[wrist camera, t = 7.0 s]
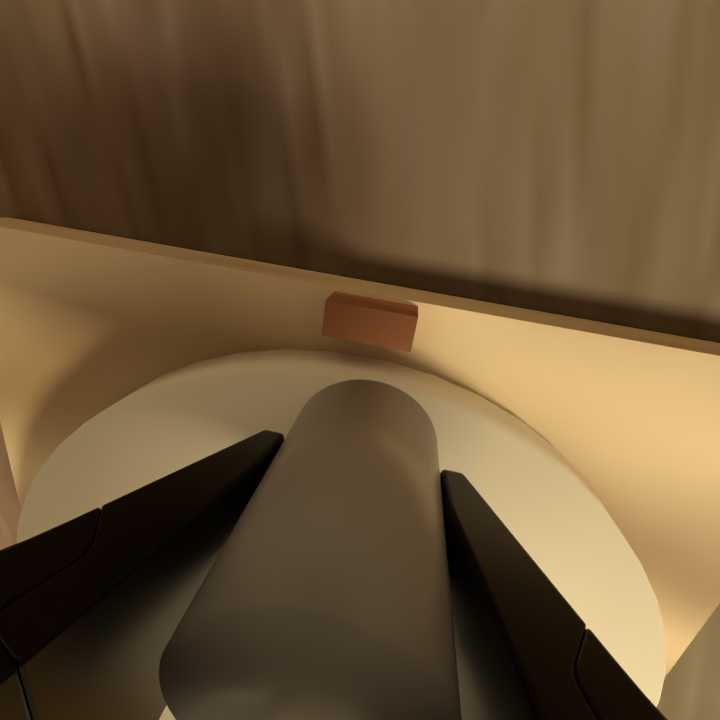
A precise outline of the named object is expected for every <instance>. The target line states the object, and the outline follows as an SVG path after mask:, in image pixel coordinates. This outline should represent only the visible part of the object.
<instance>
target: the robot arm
mask: <svg viewBox="0 0 720 720" xmlns="http://www.w3.org/2000/svg"><path fill="white" fill-rule="evenodd" d="M284 440H285V439H284V435H283V434H282V433H278V432H274V431H269V430H263V431H261V432H259V433H257V434H255V435H252V436H250V437H248V438H246V439H244V440H242V441H240V442H237V443H235V444H233V445H231V446H229V447H227V448H225V449H222V450H220V451H218V452H216V453H214V454H212V455H209V456H207V457H205V458H203V459H201V460H199V461H197V462H194V463H192V464H190V465H188V466H186V467H184V468H182V469H179V470H177V471H175V472H173V473H171V474H169V475H167V476H164V477H162V478H160V479H158V480H156V481H154V482H152V483H149V484H147V485H145V486H143V487H141V488H139V489H137V490H134V491H132V492H130V493H128V494H126V495H124V496H122V497H119V498H117V499H115V500H113V501H111V502H109V503H107V504H104V505H103V506H102V508H101V509H100V508H96V509H93V510H91V511H89V512H87V513H85V514H83V515H80V516H78V517H76V518H74V519H72V520H70V521H67V522H65V523H63V524H61V525H58V526H56V527H54V528H52V529H49V530H47V531H45V532H43V533H40V534H38V535H36V536H34V537H31V538H29V539H27V540H24V541H22V542H19V543H17V544H14V545H12V546H10V547H7V548H5V549H2V550H0V720H159V719H160V717H161V715H162V713H163V711H164V709H165V707H166V706H167V704H166V702H165V700H164V698H163V695H162V691H161V688H160V683H159V674H158V673H159V664H160V659H161V656H162V653H163V650H164V649H165V647H166V645H167V643H168V642H169V640H170V638H171V637H172V635H173V633H174V631H175V630H176V628H177V626H178V624H179V623H180V621H181V619H182V617H183V616H184V614H185V612H186V610H187V609H188V607H189V605H190V603H191V602H192V600H193V598H194V596H195V595H196V593H197V591H198V590H199V588H200V586H201V584H202V583H203V581H204V579H205V577H206V576H207V574H208V572H209V570H210V569H211V567H212V565H213V563H214V562H215V560H216V558H217V556H218V555H219V553H220V551H221V549H222V548H223V546H224V544H225V542H226V541H227V539H228V537H229V536H230V534H231V532H232V530H233V529H234V527H235V525H236V523H237V522H238V520H239V518H240V516H241V515H242V513H243V511H244V509H245V508H246V506H247V504H248V502H249V501H250V499H251V497H252V495H253V494H254V492H255V490H256V488H257V487H258V485H259V483H260V482H261V480H262V478H263V476H264V475H265V473H266V471H267V469H268V468H269V466H270V464H271V462H272V461H273V459H274V457H275V455H276V454H277V452H278V450H279V448H280V447H281V445H282V443H283V441H284ZM440 480H441V491H442V503H443V514H444V525H445V537H446V548H447V559H448V571H449V582H450V593H451V605H452V616H453V627H454V639H455V650H456V661H457V673H458V684H459V695H460V707H461V718H462V720H667V719H666V718H665V716H664V715H663V714H662V713H661V712H660V711H659V710H658V709H657V708H656V706H655V705H654V704H653V703H652V702H651V701H650V700H649V699H648V698H647V696H646V695H645V694H644V693H643V692H642V691H641V689H640V688H639V687H638V686H637V685H636V683H635V682H634V681H633V680H632V679H631V678H630V676H629V675H628V674H627V673H626V672H625V670H624V669H623V668H622V667H621V666H620V665H619V663H618V662H617V661H616V660H615V659H614V657H613V656H612V655H611V654H610V653H609V651H608V650H607V649H606V648H605V647H604V645H603V644H602V643H601V642H600V640H599V639H598V638H597V637H596V636H595V634H594V633H593V632H592V631H591V630H590V629H586V624H585V622H584V621H583V620H582V619H581V617H580V616H579V615H578V614H577V613H576V611H575V610H574V609H573V608H572V606H571V605H570V604H569V603H568V602H567V600H566V599H565V598H564V597H563V595H562V594H561V593H560V592H559V591H558V589H557V588H556V587H555V586H554V584H553V583H552V582H551V581H550V580H549V578H548V577H547V576H546V575H545V573H544V572H543V571H542V570H541V568H540V567H539V566H538V565H537V564H536V562H535V561H534V560H533V559H532V557H531V556H530V555H529V554H528V553H527V551H526V550H525V549H524V548H523V546H522V545H521V544H520V543H519V542H518V540H517V539H516V538H515V537H514V535H513V534H512V533H511V532H510V531H509V529H508V528H507V527H506V526H505V524H504V523H503V522H502V521H501V519H500V518H499V517H498V516H497V515H496V513H495V512H494V511H493V510H492V508H491V507H490V506H489V505H488V504H487V502H486V501H485V500H484V499H483V497H482V496H481V495H480V494H479V493H478V491H477V490H476V489H475V488H474V486H473V485H472V484H471V483H470V482H469V480H468V479H467V478H466V477H465V475H463V474H462V473H459V472H455V471H450V470H445V469H444V470H442V471H441V473H440Z"/></svg>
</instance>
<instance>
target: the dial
mask: <svg viewBox="0 0 720 720" xmlns="http://www.w3.org/2000/svg"><path fill="white" fill-rule="evenodd" d="M263 430H269V431H274V432H278V433H282V434H283V435H284V439H285V440H284V441H283V443H282V445H281V447H280V448H279V450H278V452H277V454H276V455H275V457H274V459H273V461H272V462H271V464H270V466H269V468H268V469H267V471H266V473H265V475H264V476H263V478H262V480H261V482H260V483H259V485H258V487H257V488H256V490H255V492H254V494H253V495H252V497H251V499H250V501H249V502H248V504H247V506H246V508H245V509H244V511H243V513H242V515H241V516H240V518H239V520H238V522H237V523H236V525H235V527H234V529H233V530H232V532H231V534H230V536H229V537H228V539H227V541H226V542H225V544H224V546H223V548H222V549H221V551H220V553H219V555H218V556H217V558H216V560H215V562H214V563H213V565H212V567H211V569H210V570H209V572H208V574H207V576H206V577H205V579H204V581H203V583H202V584H201V586H200V588H199V590H198V591H197V593H196V595H195V596H194V598H193V600H192V602H191V603H190V605H189V607H188V609H187V610H186V612H185V614H184V616H183V617H182V619H181V621H180V623H179V624H178V626H177V628H176V630H175V631H174V633H173V635H172V637H171V638H170V640H169V642H168V643H167V645H166V647H165V649H164V650H163V653H162V656H161V659H160V664H159V673H158V674H159V683H160V688H161V691H162V695H163V698H164V700H165V702H166V704H167V706H166V707H165V709H164V711H163V713H162V715H161V717H160V719H159V720H462V718H461V707H460V695H459V684H458V673H457V661H456V650H455V639H454V627H453V616H452V605H451V593H450V582H449V571H448V559H447V548H446V537H445V525H444V514H443V503H442V491H441V480H440V473H441V471H442V470H444V469H445V470H450V471H455V472H459V473H462V474H463V475H465V477H466V478H467V479H468V480H469V482H470V483H471V484H472V485H473V486H474V488H475V489H476V490H477V491H478V493H479V494H480V495H481V496H482V497H483V499H484V500H485V501H486V502H487V504H488V505H489V506H490V507H491V508H492V510H493V511H494V512H495V513H496V515H497V516H498V517H499V518H500V519H501V521H502V522H503V523H504V524H505V526H506V527H507V528H508V529H509V531H510V532H511V533H512V534H513V535H514V537H515V538H516V539H517V540H518V542H519V543H520V544H521V545H522V546H523V548H524V549H525V550H526V551H527V553H528V554H529V555H530V556H531V557H532V559H533V560H534V561H535V562H536V564H537V565H538V566H539V567H540V568H541V570H542V571H543V572H544V573H545V575H546V576H547V577H548V578H549V580H550V581H551V582H552V583H553V584H554V586H555V587H556V588H557V589H558V591H559V592H560V593H561V594H562V595H563V597H564V598H565V599H566V600H567V602H568V603H569V604H570V605H571V606H572V608H573V609H574V610H575V611H576V613H577V614H578V615H579V616H580V617H581V619H582V620H583V621H584V622H585V624H586V629H590V630H591V631H592V632H593V633H594V634H595V636H596V637H597V638H598V639H599V640H600V642H601V643H602V644H603V645H604V647H605V648H606V649H607V650H608V651H609V653H610V654H611V655H612V656H613V657H614V659H615V660H616V661H617V662H618V663H619V665H620V666H621V667H622V668H623V669H624V670H625V672H626V673H627V674H628V675H629V676H630V678H631V679H632V680H633V681H634V682H635V683H636V685H637V686H638V687H639V688H640V689H641V691H642V692H643V693H644V694H645V695H646V696H647V698H648V699H649V700H650V701H651V702H652V703H653V704H654V705H655V706H656V707H657V705H658V703H659V700H660V696H661V691H662V686H663V682H664V677H665V673H666V635H665V631H664V626H663V622H662V617H661V613H660V608H659V604H658V600H657V598H656V596H655V593H654V591H653V589H652V587H651V584H650V582H649V580H648V578H647V575H646V573H645V571H644V569H643V566H642V564H641V562H640V561H639V559H638V558H637V556H636V555H635V553H634V551H633V550H632V548H631V547H630V545H629V544H628V542H627V540H626V539H625V537H624V536H623V534H622V532H621V531H620V529H619V528H618V526H617V525H616V523H615V521H614V520H613V518H612V517H611V515H610V514H609V512H608V511H607V509H606V508H605V506H604V505H603V503H602V502H601V500H600V499H599V497H598V496H597V495H596V493H595V492H594V490H593V489H592V487H591V486H590V484H589V483H588V481H587V480H586V479H585V478H584V477H583V476H582V475H581V474H580V473H579V472H578V471H577V470H576V469H575V468H574V466H573V465H572V464H571V463H570V462H569V461H568V460H567V459H566V458H565V457H564V456H563V455H562V454H561V453H560V452H559V450H557V449H556V448H555V447H554V446H552V445H551V444H550V443H549V442H547V441H546V440H545V439H544V438H542V437H541V436H540V435H539V434H537V433H536V432H535V431H534V430H532V429H531V428H530V427H529V426H527V425H526V424H525V423H524V422H523V421H521V420H519V419H518V418H516V417H514V416H513V415H511V414H509V413H508V412H506V411H505V410H503V409H501V408H500V407H498V406H496V405H495V404H493V403H491V402H490V401H488V400H486V399H485V398H483V397H481V396H480V395H477V394H475V393H473V392H471V391H468V390H466V389H464V388H462V387H459V386H457V385H455V384H453V383H450V382H448V381H446V380H444V379H441V378H439V377H437V376H435V375H432V374H428V373H425V372H422V371H419V370H415V369H412V368H409V367H405V366H402V365H399V364H396V363H392V362H389V361H386V360H381V359H375V358H369V357H364V356H358V355H352V354H347V353H341V352H335V351H316V350H296V349H279V350H267V351H254V352H242V353H236V354H231V355H227V356H222V357H218V358H213V359H209V360H204V361H200V362H196V363H193V364H191V365H188V366H186V367H183V368H180V369H178V370H175V371H172V372H170V373H167V374H164V375H162V376H160V377H158V378H156V379H154V380H153V381H151V382H149V383H147V384H146V385H144V386H142V387H141V388H139V389H137V390H135V391H134V392H132V393H130V394H128V395H127V396H125V397H124V398H122V399H121V400H119V401H118V402H116V403H114V404H113V405H111V406H110V407H108V408H107V409H105V410H104V411H102V412H100V413H99V414H97V415H96V416H94V417H93V418H91V419H89V420H88V421H86V422H85V423H84V424H83V425H82V426H81V427H79V428H78V429H77V430H76V431H75V432H73V433H72V434H71V435H70V436H69V437H68V438H66V439H65V440H64V441H63V442H62V443H60V444H59V445H58V447H57V448H56V449H55V451H54V452H53V453H52V454H51V456H50V457H49V458H48V459H47V461H46V462H45V463H44V464H43V466H42V467H41V468H40V469H39V471H38V473H37V475H36V477H35V479H34V481H33V483H32V485H31V487H30V489H29V491H28V493H27V495H26V497H25V500H24V504H23V508H22V511H21V515H20V519H19V523H18V531H17V543H19V542H22V541H24V540H27V539H29V538H31V537H34V536H36V535H38V534H40V533H43V532H45V531H47V530H49V529H52V528H54V527H56V526H58V525H61V524H63V523H65V522H67V521H70V520H72V519H74V518H76V517H78V516H80V515H83V514H85V513H87V512H89V511H91V510H93V509H96V508H100V509H101V508H102V506H103V505H104V504H107V503H109V502H111V501H113V500H115V499H117V498H119V497H122V496H124V495H126V494H128V493H130V492H132V491H134V490H137V489H139V488H141V487H143V486H145V485H147V484H149V483H152V482H154V481H156V480H158V479H160V478H162V477H164V476H167V475H169V474H171V473H173V472H175V471H177V470H179V469H182V468H184V467H186V466H188V465H190V464H192V463H194V462H197V461H199V460H201V459H203V458H205V457H207V456H209V455H212V454H214V453H216V452H218V451H220V450H222V449H225V448H227V447H229V446H231V445H233V444H235V443H237V442H240V441H242V440H244V439H246V438H248V437H250V436H252V435H255V434H257V433H259V432H261V431H263Z"/></svg>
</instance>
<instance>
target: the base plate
mask: <svg viewBox="0 0 720 720" xmlns="http://www.w3.org/2000/svg"><path fill="white" fill-rule="evenodd" d="M279 349H296V350H316V351H335V352H341V353H347V354H352V355H358V356H364V357H369V358H375V359H381V360H386V361H389V362H392V363H396V364H399V365H402V366H405V367H409V368H412V369H415V370H419V371H422V372H425V373H428V374H432V375H435V376H437V377H439V378H441V379H444V380H446V381H448V382H450V383H453V384H455V385H457V386H459V387H462V388H464V389H466V390H468V391H471V392H473V393H475V394H477V395H480V396H481V397H483V398H485V399H486V400H488V401H490V402H491V403H493V404H495V405H496V406H498V407H500V408H501V409H503V410H505V411H506V412H508V413H509V414H511V415H513V416H514V417H516V418H518V419H519V420H521V421H523V422H524V423H525V424H526V425H527V426H529V427H530V428H531V429H532V430H534V431H535V432H536V433H537V434H539V435H540V436H541V437H542V438H544V439H545V440H546V441H547V442H549V443H550V444H551V445H552V446H554V447H555V448H556V449H557V450H559V452H560V453H561V454H562V455H563V456H564V457H565V458H566V459H567V460H568V461H569V462H570V463H571V464H572V465H573V466H574V468H575V469H576V470H577V471H578V472H579V473H580V474H581V475H582V476H583V477H584V478H585V479H586V480H587V481H588V483H589V484H590V486H591V487H592V489H593V490H594V492H595V493H596V495H597V496H598V497H599V499H600V500H601V502H602V503H603V505H604V506H605V508H606V509H607V511H608V512H609V514H610V515H611V517H612V518H613V520H614V521H615V523H616V525H617V526H618V528H619V529H620V531H621V532H622V534H623V536H624V537H625V539H626V540H627V542H628V544H629V545H630V547H631V548H632V550H633V551H634V553H635V555H636V556H637V558H638V559H639V561H640V562H641V564H642V566H643V569H644V571H645V573H646V575H647V578H648V580H649V582H650V584H651V587H652V589H653V591H654V593H655V596H656V598H657V600H658V604H659V608H660V613H661V617H662V622H663V626H664V631H665V635H666V673H665V677H666V675H667V674H668V673H669V671H670V670H671V668H672V667H673V666H674V664H675V663H676V662H677V660H678V659H679V658H680V656H681V655H682V653H683V652H684V651H685V649H686V648H687V647H688V645H689V644H690V643H691V641H692V640H693V638H694V637H695V636H696V634H697V633H698V632H699V630H700V629H701V628H702V626H703V625H704V624H705V622H706V621H707V619H708V618H709V617H710V615H711V614H712V613H713V611H714V610H715V609H716V607H717V606H718V604H719V603H720V343H716V342H711V341H705V340H700V339H694V338H688V337H683V336H677V335H671V334H666V333H660V332H654V331H649V330H643V329H637V328H632V327H626V326H620V325H615V324H609V323H603V322H598V321H592V320H587V319H581V318H575V317H570V316H564V315H558V314H553V313H547V312H541V311H536V310H530V309H524V308H519V307H513V306H507V305H502V304H496V303H490V302H485V301H479V300H474V299H468V298H462V297H457V296H451V295H445V294H440V293H434V292H428V291H423V290H417V289H411V288H406V287H400V286H394V285H389V284H383V283H378V282H372V281H366V280H361V279H355V278H349V277H344V276H338V275H332V274H327V273H321V272H315V271H310V270H304V269H298V268H293V267H287V266H281V265H276V264H270V263H265V262H259V261H253V260H248V259H242V258H236V257H231V256H225V255H219V254H214V253H208V252H202V251H197V250H191V249H185V248H180V247H174V246H168V245H163V244H157V243H152V242H146V241H140V240H135V239H129V238H123V237H118V236H112V235H106V234H101V233H95V232H89V231H84V230H78V229H72V228H67V227H61V226H55V225H50V224H44V223H39V222H33V221H27V220H22V219H16V218H10V217H3V218H0V423H1V427H2V431H3V436H4V440H5V444H6V448H7V453H8V457H9V461H10V465H11V470H12V474H13V478H14V482H15V487H16V491H17V495H18V499H19V504H20V508H21V511H22V508H23V504H24V500H25V497H26V495H27V493H28V491H29V489H30V487H31V485H32V483H33V481H34V479H35V477H36V475H37V473H38V471H39V469H40V468H41V467H42V466H43V464H44V463H45V462H46V461H47V459H48V458H49V457H50V456H51V454H52V453H53V452H54V451H55V449H56V448H57V447H58V445H59V444H60V443H62V442H63V441H64V440H65V439H66V438H68V437H69V436H70V435H71V434H72V433H73V432H75V431H76V430H77V429H78V428H79V427H81V426H82V425H83V424H84V423H85V422H86V421H88V420H89V419H91V418H93V417H94V416H96V415H97V414H99V413H100V412H102V411H104V410H105V409H107V408H108V407H110V406H111V405H113V404H114V403H116V402H118V401H119V400H121V399H122V398H124V397H125V396H127V395H128V394H130V393H132V392H134V391H135V390H137V389H139V388H141V387H142V386H144V385H146V384H147V383H149V382H151V381H153V380H154V379H156V378H158V377H160V376H162V375H164V374H167V373H170V372H172V371H175V370H178V369H180V368H183V367H186V366H188V365H191V364H193V363H196V362H200V361H204V360H209V359H213V358H218V357H222V356H227V355H231V354H236V353H242V352H254V351H267V350H279ZM665 677H664V678H665Z"/></svg>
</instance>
